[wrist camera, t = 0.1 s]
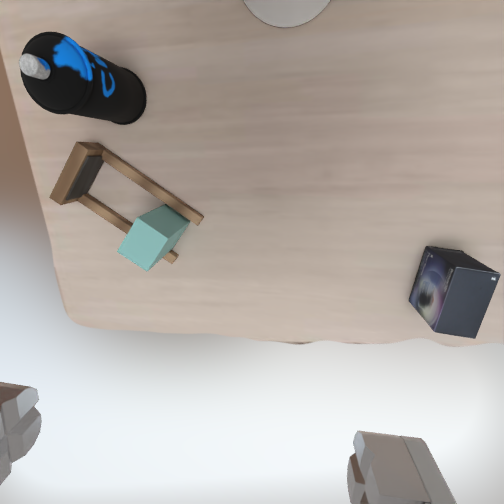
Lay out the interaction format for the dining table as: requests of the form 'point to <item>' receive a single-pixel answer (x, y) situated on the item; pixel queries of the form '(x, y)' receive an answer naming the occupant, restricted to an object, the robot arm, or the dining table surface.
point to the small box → (453, 291)
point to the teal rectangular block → (153, 236)
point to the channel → (83, 173)
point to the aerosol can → (79, 81)
